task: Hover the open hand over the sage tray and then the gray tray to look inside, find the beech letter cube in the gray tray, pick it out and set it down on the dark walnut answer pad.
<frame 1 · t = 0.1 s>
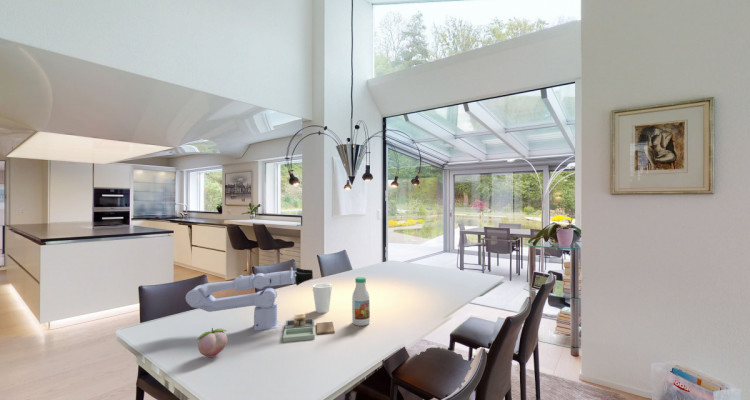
hand: (312, 274, 143), 22 cm above the table, tool horizontal, fingers open, 7 cm apart
sage tray: (299, 336, 127), on the table
foam cup: (322, 312, 157), on the table
gray tray: (299, 327, 137), on the table
decorative fruit: (211, 357, 111), on the table
milk bottle: (361, 323, 141), on the table
letter cube: (299, 326, 137), resting on gray tray
answer pad: (325, 329, 134), on the table
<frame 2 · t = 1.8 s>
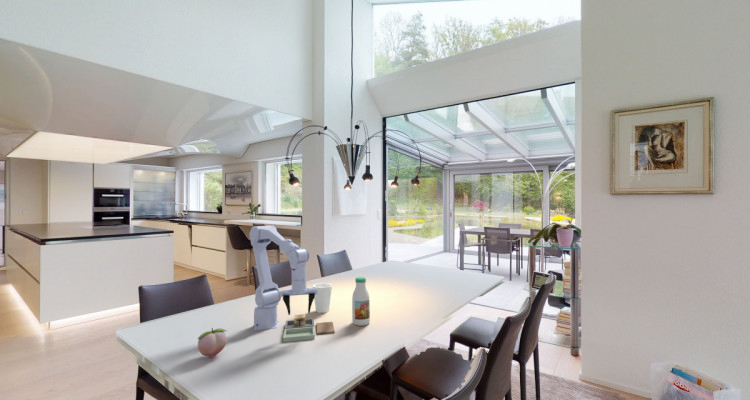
hand: (299, 313, 127), 9 cm above the table, tool pointing down, fingers open, 7 cm apart
nothing on the table moved.
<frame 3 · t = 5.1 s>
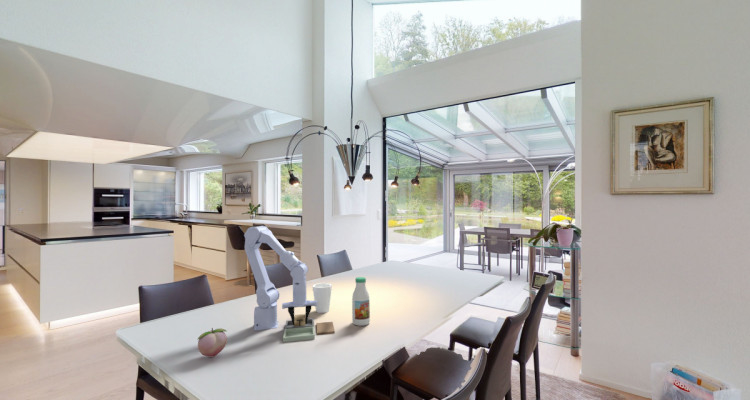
hand: (299, 324, 137), 2 cm above the table, tool pointing down, fingers closed on letter cube, 4 cm apart
letter cube: (299, 326, 137), resting on gray tray, touching gripper
everything else where it was.
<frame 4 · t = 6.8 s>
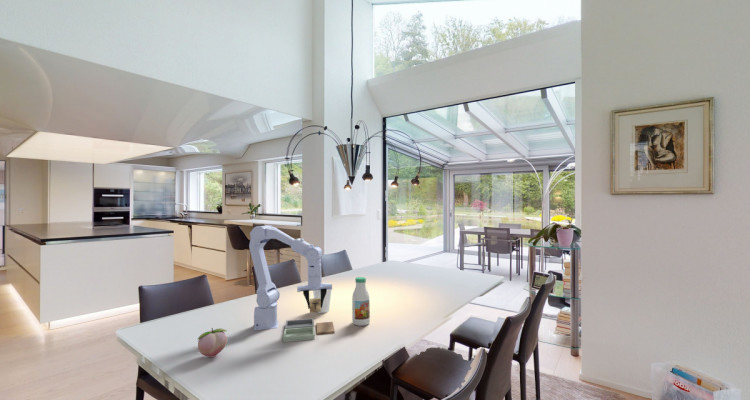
hand: (315, 307, 135), 9 cm above the table, tool pointing down, fingers closed on letter cube, 4 cm apart
letter cube: (315, 310, 135), point 8 cm above the table, touching gripper
everything else where it was.
when the fingers open (4 cm above the table, at t = 8.6 s): letter cube drops 1 cm, resting on answer pad.
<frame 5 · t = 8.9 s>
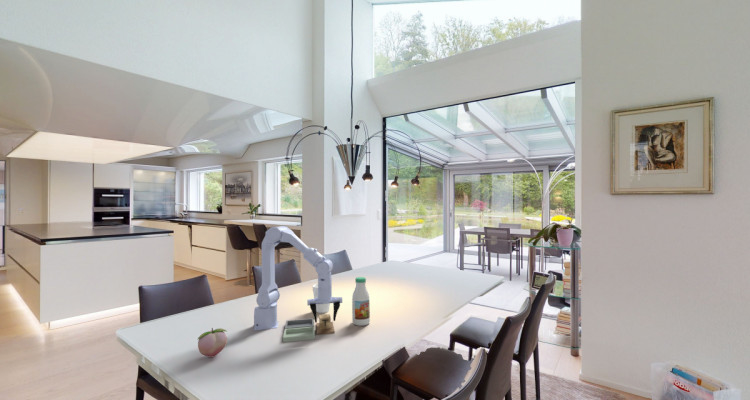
hand: (325, 320, 134), 4 cm above the table, tool pointing down, fingers open, 7 cm apart
letter cube: (324, 326, 134), point 1 cm above the table, touching answer pad
everything else where it was.
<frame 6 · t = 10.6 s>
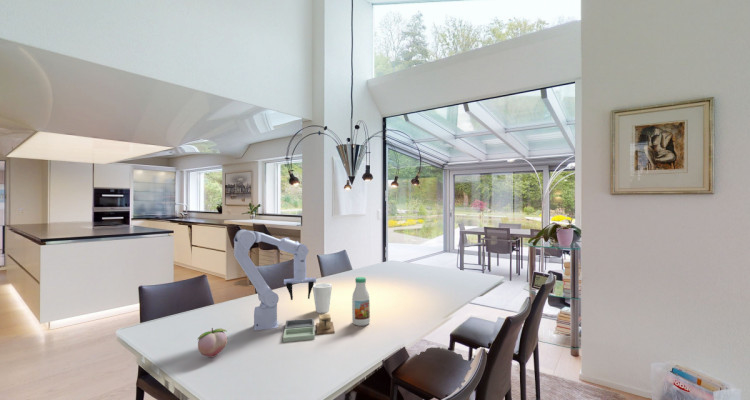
hand: (300, 298, 147), 9 cm above the table, tool pointing down, fingers open, 7 cm apart
nothing on the table moved.
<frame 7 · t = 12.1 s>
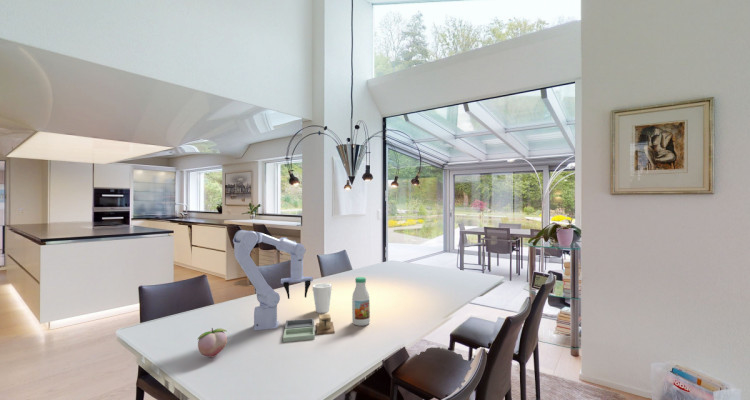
hand: (297, 297, 149), 9 cm above the table, tool pointing down, fingers open, 7 cm apart
nothing on the table moved.
at the end: letter cube inside the target area on the answer pad (0.1 cm from its centre), point 1.2 cm above the answer pad's base; letter cube tilted 0°; the gripper is holding nothing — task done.
